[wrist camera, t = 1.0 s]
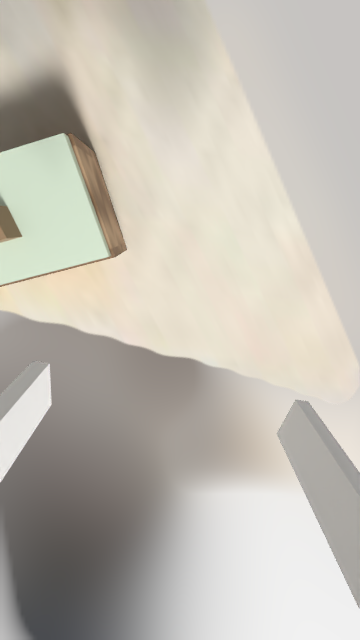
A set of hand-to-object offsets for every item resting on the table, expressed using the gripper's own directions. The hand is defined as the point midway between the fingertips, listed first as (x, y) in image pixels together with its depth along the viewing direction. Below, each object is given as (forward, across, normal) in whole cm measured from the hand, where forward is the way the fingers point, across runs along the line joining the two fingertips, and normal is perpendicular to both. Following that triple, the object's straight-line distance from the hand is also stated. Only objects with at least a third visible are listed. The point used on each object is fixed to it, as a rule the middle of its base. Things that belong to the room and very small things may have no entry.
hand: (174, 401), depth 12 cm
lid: (+18, -19, +5) cm, 26 cm away
